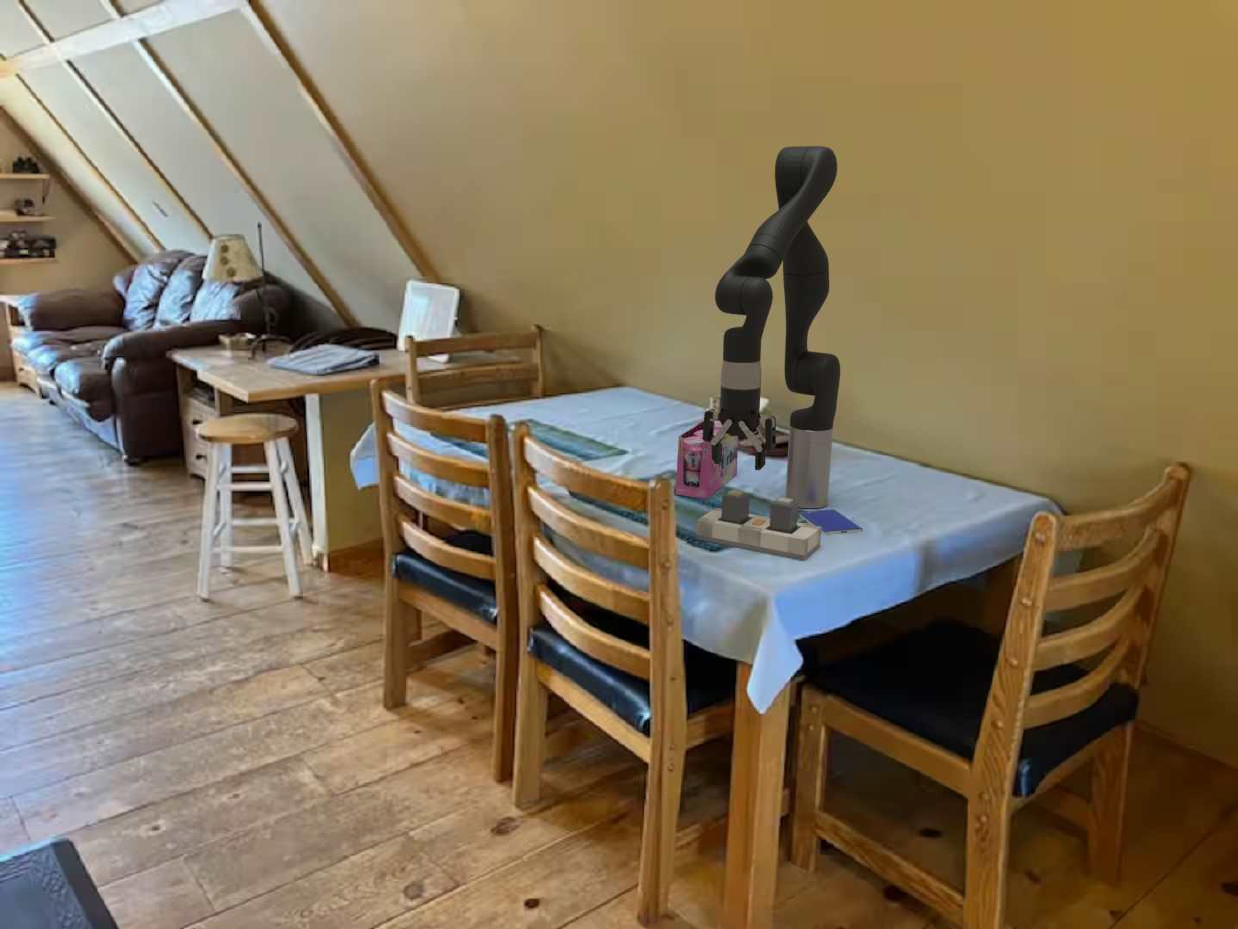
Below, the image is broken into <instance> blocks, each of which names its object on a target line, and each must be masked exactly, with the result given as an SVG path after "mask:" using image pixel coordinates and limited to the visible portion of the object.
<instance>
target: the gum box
mask: <svg viewBox="0 0 1238 929" xmlns="http://www.w3.org/2000/svg"><path fill="white" fill-rule="evenodd" d="M703 425H704V420H703V421H701V422H700V423H698V424H697V425H694V426H693V427H691V428H690V429H688V430H686V431H685V432H683V433H681V434H680V435H678V441H677V442H678V447H677V457H676V458H677V461H676V478H675V480H676V481H675V495H677V496H678V495H679V496H684V497H685V496H686V497H691V498H698V499H705V500H706V499H707V500H708V499H709V498H710V497H711V496H713V495H714V494H715V493H716V492H717V491H718V490H720V489H721V488H722V487H723V486H725V485H726V484H727V483H728V482H730V481H731V480H732V479H733V478H735V477H736V476H737V475H738V454H739V453H738V452H739V450H738V449H739V436H729V434H727V435H726V436H725V438H724V439H723V440H722V441H721V444H722V462H721V463H720V464H714V461H712V444H711V443H710V442H708V441H704V440H703V438H702V437H703ZM721 427H722V424H721V422H720V421H719V419H718V418H717V420H716V421H715V422H714V434H713V435H716V433H717V432H718V431H719V430H720V428H721Z"/></svg>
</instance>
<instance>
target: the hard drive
mask: <svg viewBox="0 0 1238 929" xmlns="http://www.w3.org/2000/svg"><path fill="white" fill-rule="evenodd" d="M799 517H800V518H801V519H803V520H804V521H805V522H807V524H809V525H814V526H820V527H821V534H823V535H824V534H825V535H824V536H832V535H831V534H837V535H849V534H850V535H851V534H859V533H858V532H863V531H864V530H863V527H861V526H859V525H858V524H856V523H855V522H853V521H852V520H850V519H849V518H847V517H846V516H845V515H843V514H842V513H840V512H839V511H837V510H836V509H821V510H820V509H819V510H809V511H808V510H807V511H801V512H799Z"/></svg>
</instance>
